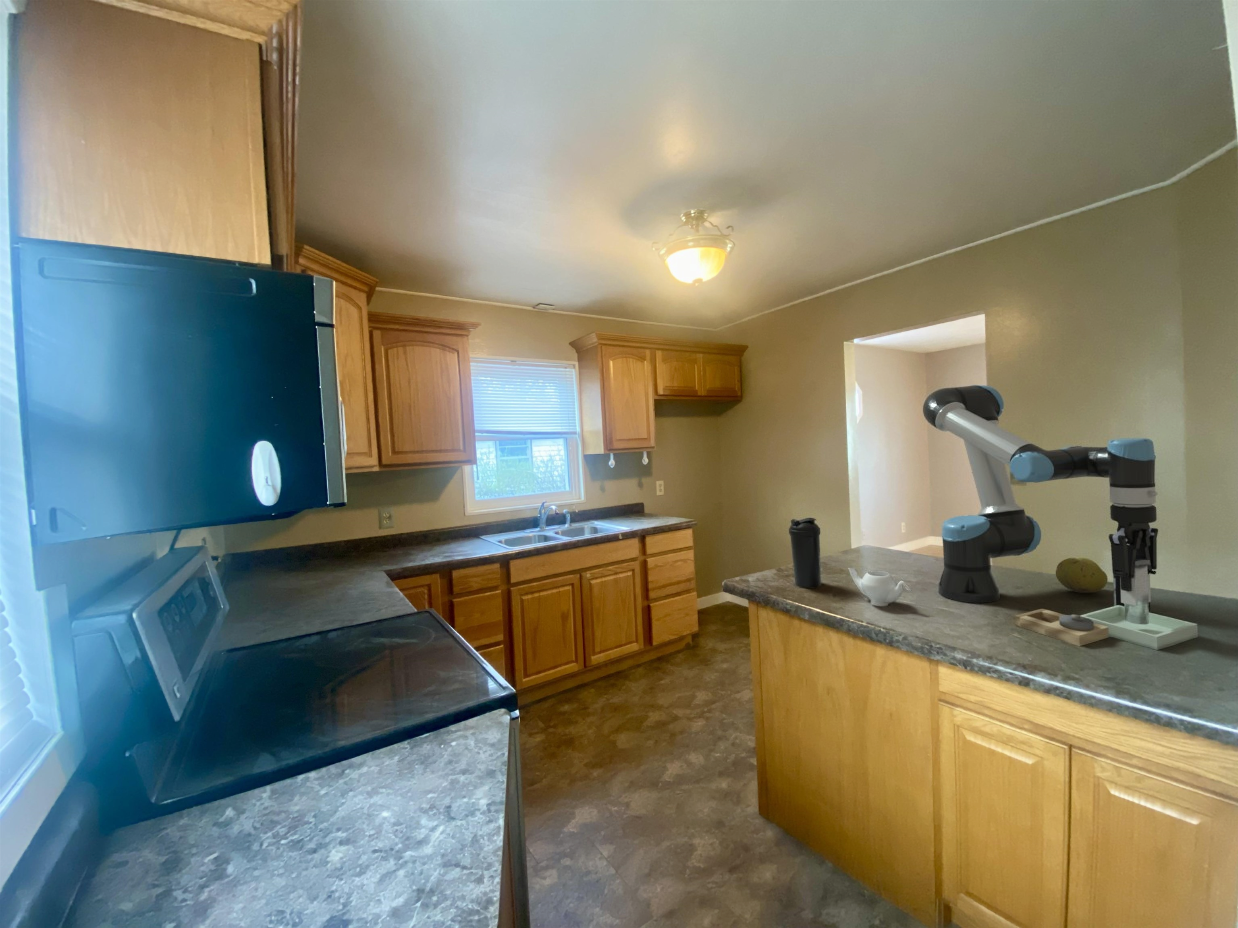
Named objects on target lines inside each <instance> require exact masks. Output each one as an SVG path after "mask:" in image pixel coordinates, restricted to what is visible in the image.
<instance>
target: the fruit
mask: <svg viewBox="0 0 1238 928" xmlns="http://www.w3.org/2000/svg"><path fill="white" fill-rule="evenodd" d="M1055 577H1056V579H1057V581H1058V582H1059V583H1060V584H1061V585H1062V586H1063V587H1065V588H1067V589H1068V590H1070V591H1072V592H1076V593H1079V594H1086V593H1087V594H1088V593H1095V592H1099V591H1101V590H1102V589H1104V588H1105V586H1106V585H1107V584H1108V575H1107V573H1106V572H1105V571H1103V569H1102V568H1101V567H1100V566H1099V565H1098V564H1097V563H1096V562H1095V561H1094V560H1092V559H1090V558H1086V557H1078V558H1076V557H1068V558H1065V559H1063V560H1060V562H1059V563H1058V564H1057V565H1056V569H1055Z"/></svg>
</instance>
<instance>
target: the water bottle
mask: <svg viewBox="0 0 1238 928" xmlns="http://www.w3.org/2000/svg"><path fill="white" fill-rule="evenodd" d="M815 521H817V519H816V518H815V517H806V518H802V519H799V520H798V519H796V518H793V519H791V520H790V523H791V524H790V526H789V527H788V534H789V536H790V547H791V556H792V564H793V577H794V584H795V586H796V587H799V588H803V589H816V588H820V587H821V586H822V580H821V579H822V576H821V573H822V571H821V570H822V568H821V564H822V563H821V547H820V546H821V545H820V544H821V543H820V542H821V541H820V536H821V527H819V525H818V524H817V523H816V522H815Z"/></svg>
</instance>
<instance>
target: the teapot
mask: <svg viewBox="0 0 1238 928" xmlns="http://www.w3.org/2000/svg"><path fill="white" fill-rule="evenodd" d="M847 570H848V571H849V574H850V576H851V578H852V580H853V582H854V584H855V586H856V588H857V589H858V590H859V591H860V593H862V594H863V595H865V597H866V596H867V597H868V599H869V600H870V605H872V606H875V607H887V606H888V605H889V604H891V603H894V602H896V601H897V600H899V599H900V598H901V596H902V594H903V590H904V588H905V589H906V591H909V592H912V589H911V587H909V586H908V585H907V583H906V582H905V581H903V580H900V581H899V582H898V584H897V581H896V579H895V578H894V577H893V576H892V574H890V573H889V572H887V571H883V570H871V571H868V572H866V573H865V574H864V575H863V577H861V576H859V574H858V573H857V570H856V569H855V567H853V566H849V567H848V569H847Z"/></svg>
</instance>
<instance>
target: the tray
mask: <svg viewBox="0 0 1238 928" xmlns="http://www.w3.org/2000/svg"><path fill="white" fill-rule="evenodd" d="M1079 616H1080V617H1085V618H1088V619H1090V620H1092V621H1093V623H1096V624H1100V625H1103V626H1107V627H1108V630H1109V637H1111V638H1114V639H1118V640H1120V641H1125V642H1128V643H1132V644H1135V645H1137V646H1142V647H1145V648H1148V649H1152V650H1155V651H1159V650H1162V649H1165V648H1168V647H1172V646H1175V645H1178V644H1181V643H1184V642H1187V641H1190V640H1194V639H1197V638H1198V637H1199V634H1198V633H1199V632H1198V623H1194V622H1191V621H1190V622H1189V621H1185V620H1181V619H1177V618H1173V617H1170V616H1165V615H1161V614H1157V613H1152V612H1149V624H1134V623H1130V622H1127V621H1125V611H1124V606H1120V605H1117V606H1114V605H1113V606H1111V607H1107V608H1103V609H1099V610H1096V611H1095V610H1094V611H1091V612H1088V613H1084V614H1081V615H1079Z"/></svg>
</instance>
